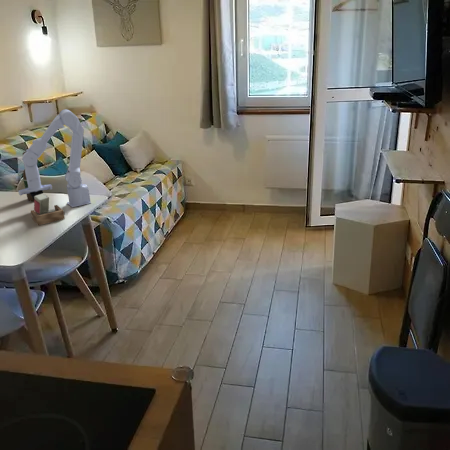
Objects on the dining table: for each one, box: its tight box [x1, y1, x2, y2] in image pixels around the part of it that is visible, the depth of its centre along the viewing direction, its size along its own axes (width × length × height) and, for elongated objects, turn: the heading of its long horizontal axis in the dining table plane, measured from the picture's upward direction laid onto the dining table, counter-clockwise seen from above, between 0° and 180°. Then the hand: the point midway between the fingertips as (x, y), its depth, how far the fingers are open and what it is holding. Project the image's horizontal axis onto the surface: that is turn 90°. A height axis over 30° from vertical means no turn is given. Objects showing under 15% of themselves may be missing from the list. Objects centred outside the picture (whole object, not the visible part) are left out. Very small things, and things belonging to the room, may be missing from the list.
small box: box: [33, 192, 50, 215], centre depth 220 cm, size 5×4×8 cm
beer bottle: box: [21, 151, 34, 202], centre depth 236 cm, size 8×8×24 cm
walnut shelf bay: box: [30, 204, 66, 226], centre depth 213 cm, size 12×10×4 cm
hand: (38, 206), depth 224 cm, fingers closed
